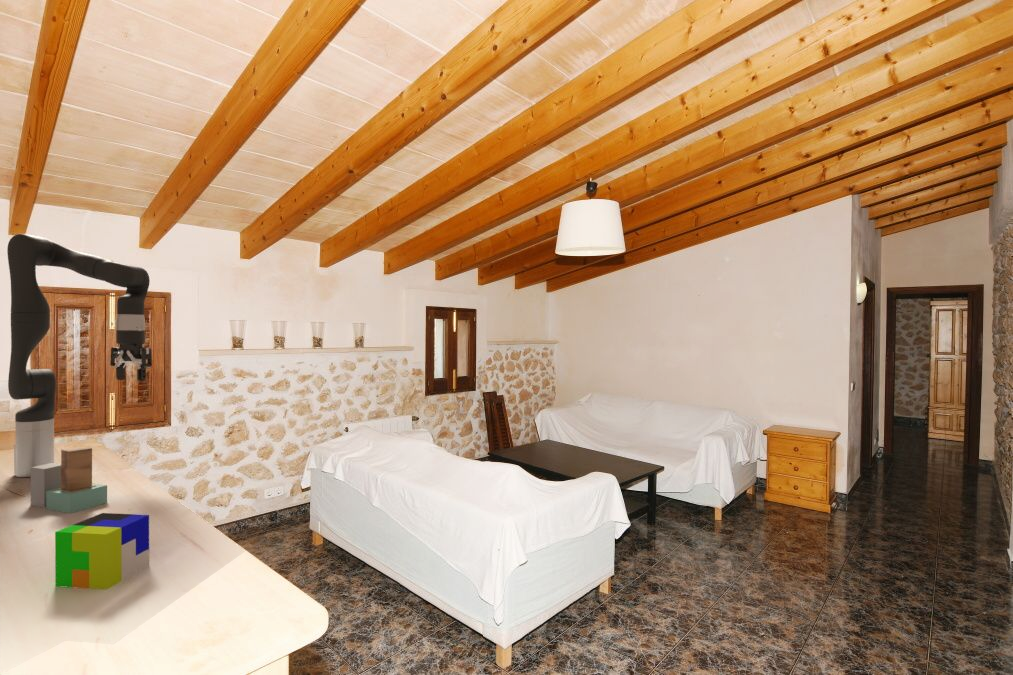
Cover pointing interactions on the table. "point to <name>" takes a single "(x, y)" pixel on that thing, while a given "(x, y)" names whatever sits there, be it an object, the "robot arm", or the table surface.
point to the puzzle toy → (101, 550)
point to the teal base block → (76, 498)
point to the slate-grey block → (44, 482)
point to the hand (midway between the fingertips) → (131, 380)
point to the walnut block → (76, 468)
